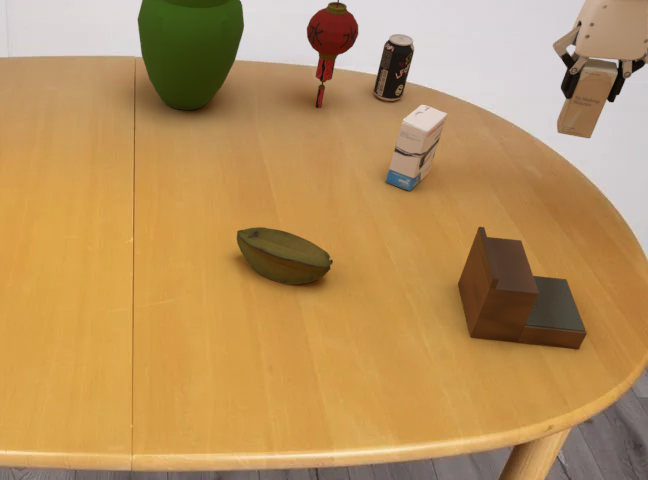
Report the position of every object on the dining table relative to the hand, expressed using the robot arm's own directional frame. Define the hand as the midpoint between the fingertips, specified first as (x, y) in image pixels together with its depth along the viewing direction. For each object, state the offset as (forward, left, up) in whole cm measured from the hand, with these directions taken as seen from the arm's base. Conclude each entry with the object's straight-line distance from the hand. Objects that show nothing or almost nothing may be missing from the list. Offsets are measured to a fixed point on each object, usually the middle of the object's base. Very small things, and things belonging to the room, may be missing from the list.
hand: (587, 95), depth 135 cm
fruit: (+44, +26, -20) cm, 55 cm away
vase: (+63, -24, -20) cm, 71 cm away
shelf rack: (+10, +31, -20) cm, 38 cm away
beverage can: (+23, -34, -20) cm, 46 cm away
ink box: (+22, -4, -20) cm, 30 cm away
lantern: (+37, -27, -20) cm, 50 cm away
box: (0, 0, -6) cm, 6 cm away
